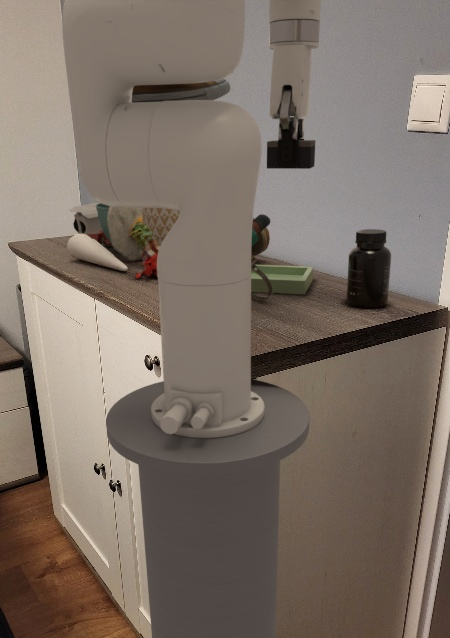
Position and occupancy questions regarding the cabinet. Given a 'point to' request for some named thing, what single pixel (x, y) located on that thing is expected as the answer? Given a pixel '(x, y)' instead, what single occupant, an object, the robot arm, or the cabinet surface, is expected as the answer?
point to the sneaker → (180, 91)
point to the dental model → (100, 238)
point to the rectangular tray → (283, 279)
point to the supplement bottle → (369, 270)
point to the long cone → (93, 252)
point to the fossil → (124, 230)
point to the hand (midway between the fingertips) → (290, 164)
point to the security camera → (86, 219)
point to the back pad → (304, 155)
